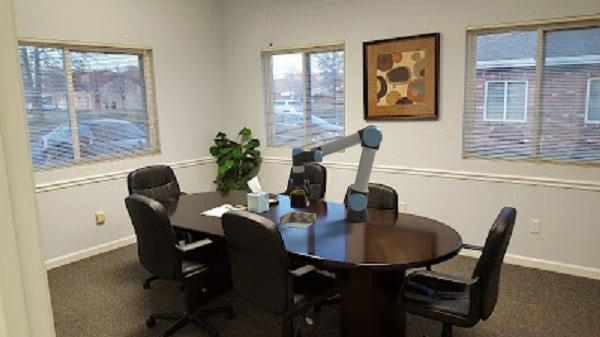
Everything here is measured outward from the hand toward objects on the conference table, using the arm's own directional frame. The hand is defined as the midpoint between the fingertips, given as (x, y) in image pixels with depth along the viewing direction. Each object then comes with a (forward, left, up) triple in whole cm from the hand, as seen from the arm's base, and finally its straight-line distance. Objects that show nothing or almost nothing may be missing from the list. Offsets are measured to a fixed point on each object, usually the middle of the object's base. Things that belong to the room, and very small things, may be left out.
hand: (299, 204), depth 295 cm
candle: (0, 0, -1) cm, 1 cm away
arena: (+2, -2, -14) cm, 14 cm away
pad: (0, 0, -14) cm, 14 cm away
